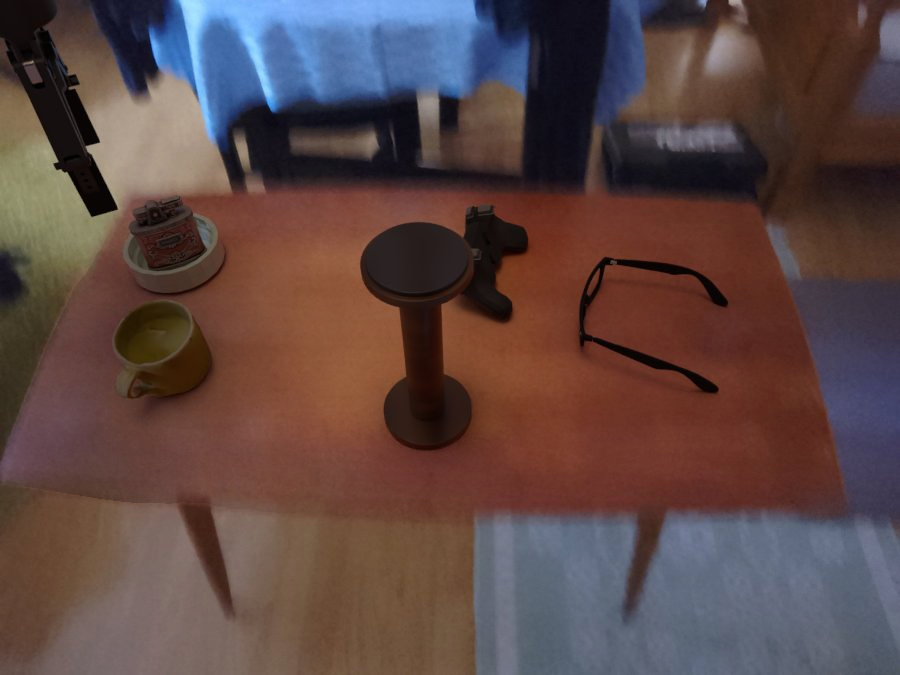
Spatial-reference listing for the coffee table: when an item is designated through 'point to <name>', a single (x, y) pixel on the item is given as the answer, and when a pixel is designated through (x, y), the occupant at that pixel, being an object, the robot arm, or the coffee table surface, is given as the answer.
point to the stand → (421, 327)
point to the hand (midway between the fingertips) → (95, 176)
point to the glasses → (635, 355)
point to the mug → (160, 350)
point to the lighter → (167, 234)
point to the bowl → (184, 275)
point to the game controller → (490, 256)
